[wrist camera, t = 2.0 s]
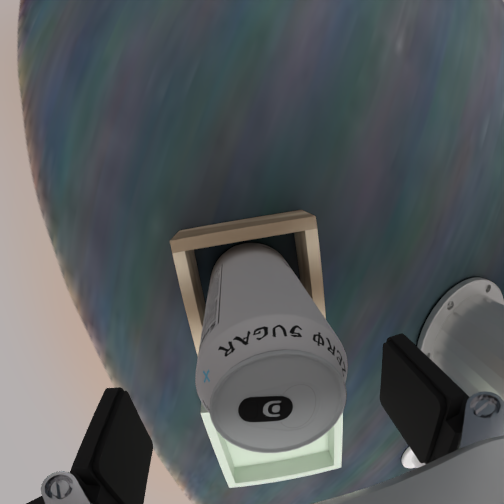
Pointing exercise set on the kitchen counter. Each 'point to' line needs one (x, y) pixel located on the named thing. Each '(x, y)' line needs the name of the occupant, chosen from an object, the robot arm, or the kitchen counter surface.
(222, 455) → the tray
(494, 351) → the robot arm
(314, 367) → the energy drink can
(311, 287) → the wooden square frame
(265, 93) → the kitchen counter surface
